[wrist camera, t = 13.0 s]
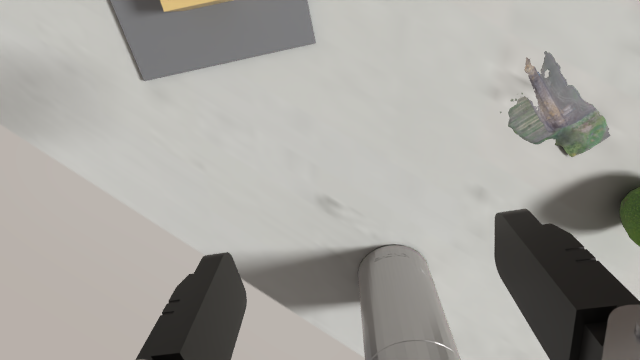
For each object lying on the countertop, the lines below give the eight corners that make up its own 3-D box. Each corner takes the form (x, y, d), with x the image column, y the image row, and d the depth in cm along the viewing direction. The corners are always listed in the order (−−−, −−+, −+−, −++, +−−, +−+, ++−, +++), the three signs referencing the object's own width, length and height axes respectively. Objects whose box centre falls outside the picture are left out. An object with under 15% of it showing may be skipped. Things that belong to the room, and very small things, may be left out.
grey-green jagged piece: (431, 36, 35) (433, 37, 34) (500, -26, 32) (504, -27, 31) (542, 172, 40) (546, 176, 39) (610, 129, 37) (617, 132, 36)
